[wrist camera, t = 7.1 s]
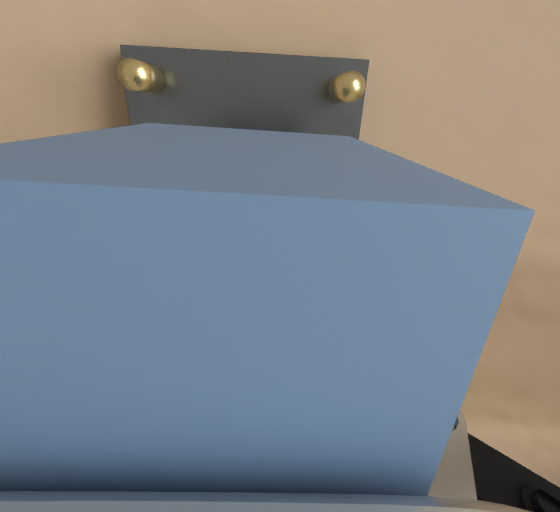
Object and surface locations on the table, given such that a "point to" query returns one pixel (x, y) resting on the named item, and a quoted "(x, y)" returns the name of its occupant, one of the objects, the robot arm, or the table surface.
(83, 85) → the table surface
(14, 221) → the blue block
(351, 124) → the dowel plate
